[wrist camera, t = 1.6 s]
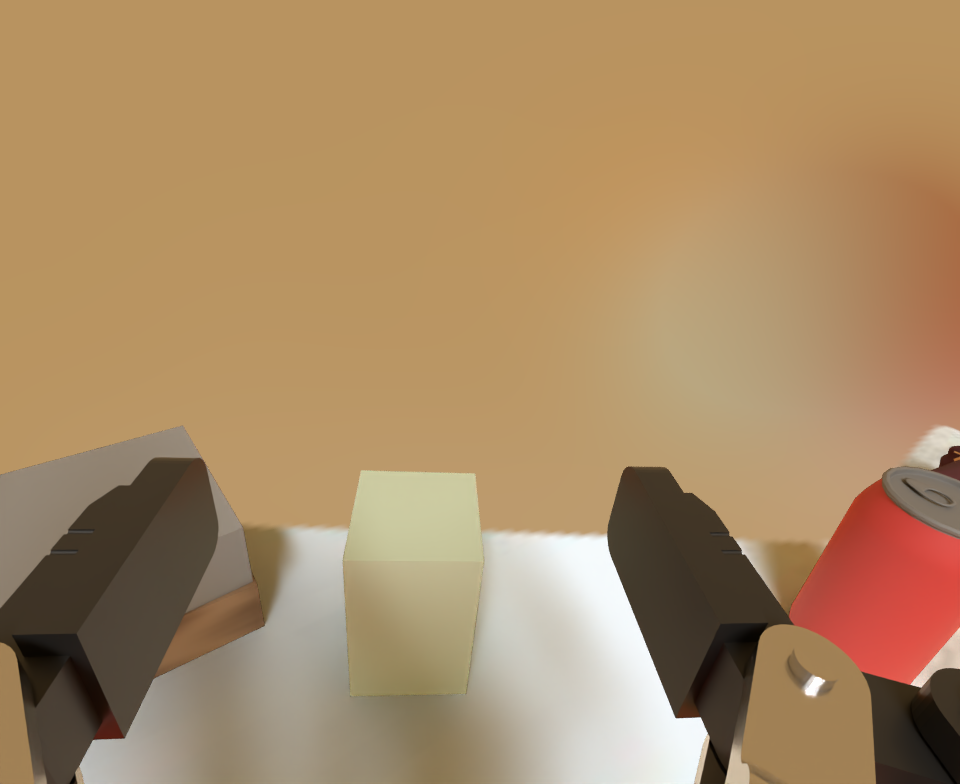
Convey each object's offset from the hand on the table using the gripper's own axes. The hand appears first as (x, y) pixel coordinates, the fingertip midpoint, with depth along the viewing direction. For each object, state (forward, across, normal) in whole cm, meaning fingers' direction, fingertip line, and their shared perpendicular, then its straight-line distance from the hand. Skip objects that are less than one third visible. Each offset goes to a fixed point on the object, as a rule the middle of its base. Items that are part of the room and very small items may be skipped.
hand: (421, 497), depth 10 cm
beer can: (+10, -26, +21) cm, 35 cm away
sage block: (+11, 0, +20) cm, 23 cm away
